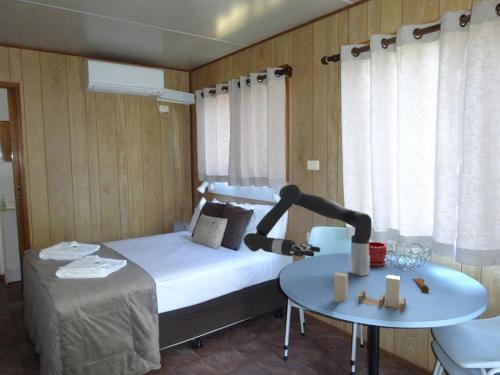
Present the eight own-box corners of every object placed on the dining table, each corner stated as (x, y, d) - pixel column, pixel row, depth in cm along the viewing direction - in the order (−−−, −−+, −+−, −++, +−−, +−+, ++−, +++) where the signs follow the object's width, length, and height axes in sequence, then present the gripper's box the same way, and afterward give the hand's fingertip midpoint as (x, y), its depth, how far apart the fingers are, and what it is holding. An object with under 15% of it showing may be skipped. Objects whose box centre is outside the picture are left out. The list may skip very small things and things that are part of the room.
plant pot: (369, 259, 219) (370, 240, 218) (390, 264, 210) (390, 244, 209) (358, 264, 211) (358, 244, 210) (379, 269, 201) (379, 248, 200)
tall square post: (386, 302, 152) (387, 274, 151) (399, 304, 150) (400, 276, 149) (385, 305, 149) (386, 277, 148) (398, 308, 146) (399, 279, 145)
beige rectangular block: (336, 298, 160) (336, 272, 159) (347, 300, 157) (347, 273, 156) (333, 301, 156) (334, 274, 155) (345, 303, 154) (345, 276, 153)
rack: (362, 298, 159) (362, 289, 159) (405, 306, 151) (405, 297, 150) (358, 305, 152) (358, 295, 152) (403, 314, 144) (403, 303, 143)
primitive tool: (411, 279, 185) (411, 272, 185) (422, 280, 184) (423, 273, 184) (420, 293, 167) (421, 285, 166) (433, 294, 165) (433, 286, 165)
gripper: (277, 242, 161) (312, 247, 154) (289, 236, 174) (322, 240, 166) (277, 258, 162) (311, 264, 154) (289, 251, 175) (321, 256, 167)
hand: (317, 252), depth 160 cm, fingers open, 8 cm apart
